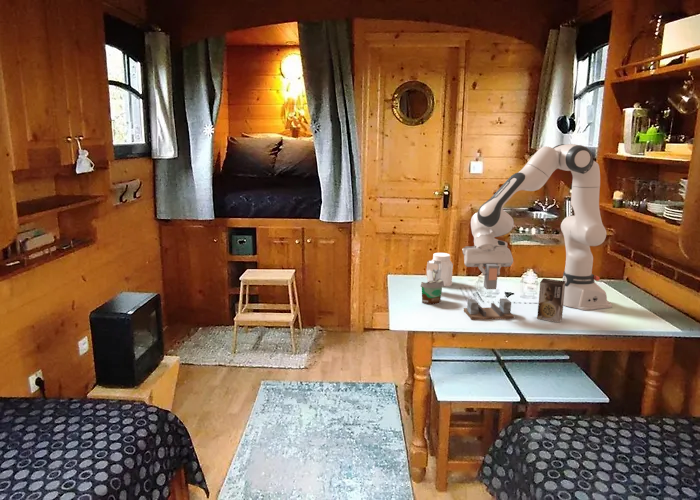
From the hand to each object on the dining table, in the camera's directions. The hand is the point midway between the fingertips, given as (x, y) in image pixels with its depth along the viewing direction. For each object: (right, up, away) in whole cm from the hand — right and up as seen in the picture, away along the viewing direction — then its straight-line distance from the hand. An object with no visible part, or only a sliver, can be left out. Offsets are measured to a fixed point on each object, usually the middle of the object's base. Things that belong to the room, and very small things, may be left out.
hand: (491, 274), depth 225 cm
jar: (-13, -7, +48) cm, 51 cm away
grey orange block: (0, -6, +2) cm, 6 cm away
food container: (-21, -14, +19) cm, 31 cm away
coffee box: (+24, -18, +1) cm, 31 cm away
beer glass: (-19, -10, +34) cm, 40 cm away
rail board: (0, -17, +5) cm, 18 cm away
